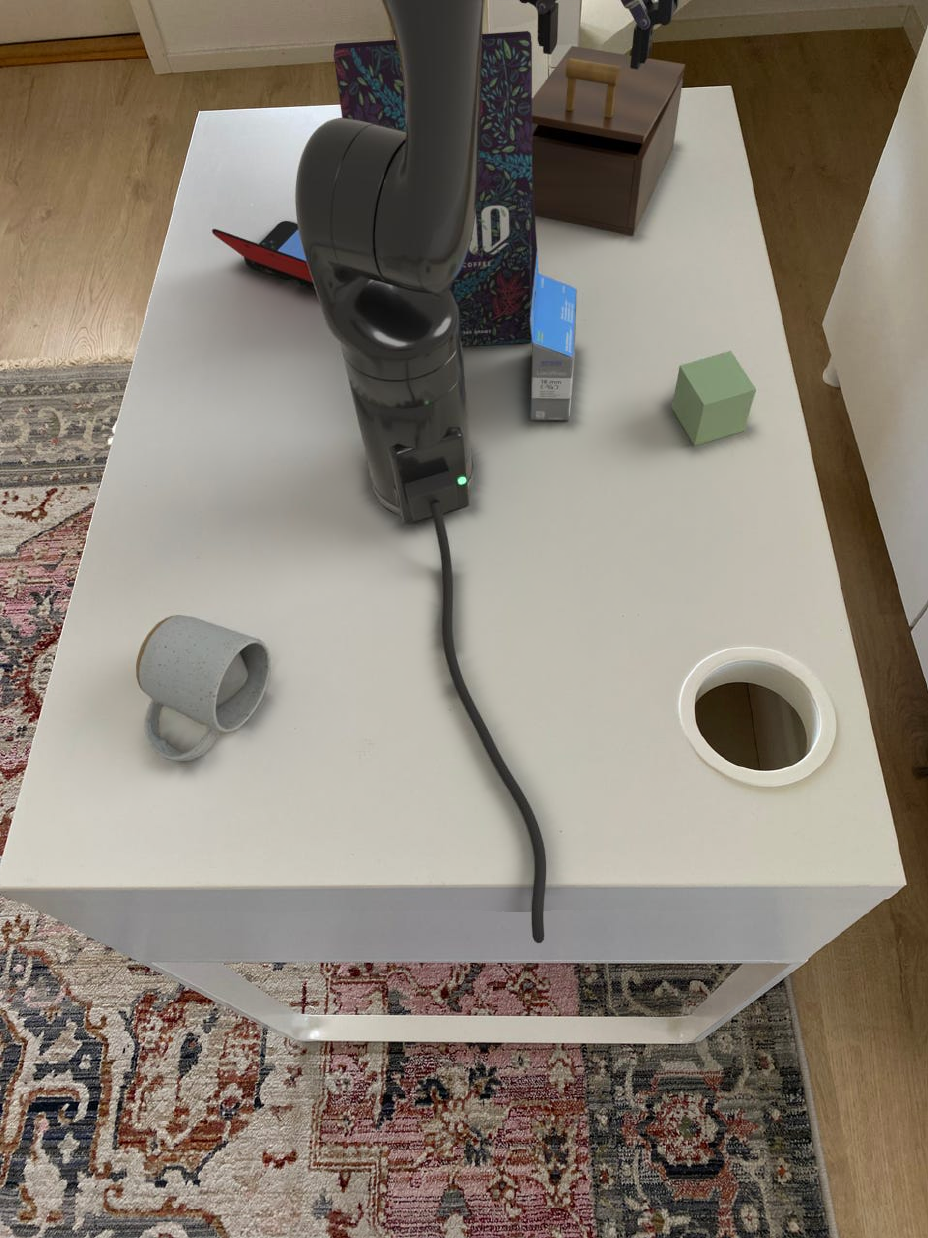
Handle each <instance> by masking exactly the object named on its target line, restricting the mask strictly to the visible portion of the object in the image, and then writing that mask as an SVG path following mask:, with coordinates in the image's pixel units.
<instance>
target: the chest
mask: <svg viewBox="0 0 928 1238" xmlns="http://www.w3.org/2000/svg"><path fill="white" fill-rule="evenodd" d="M684 75H685V72H684V73H683V74H682V76H681V78H680V80H679V81H678V83H677V85H676V87H675V88H674V90H673V92H672V94H671V95H670V97H669V99H668V100H667V102H666V104H665V106H664V107H663V109H662V111H661V113H660V114H659V116H658V118H657V120H656V121H655V123H654V125H653V127H652V128H651V130H650V132H649V134H648V135H647V137H646V139H645V141H644V142H643V143H636V142H631V141H625V140H620V139H615V138H609V137H604V136H598V135H593V134H587V133H582V132H577V131H571V130H566V129H560V128H555V127H549V126H544V125H539V124H533V123H532V180H533V195H534V210H535V217H540V218H541V217H542V218H546V219H551V220H555V221H560V222H564V223H569V224H574V225H580V226H583V227H588V228H594V229H599V230H604V231H607V232H613V233H617V234H622V235H628V236H632V237H634V236H635V234H636V232H637V230H638V227H639V226H640V223H641V220H642V218H643V216H644V214H645V213H646V209H647V208H648V206H649V203H650V201H651V198H652V196H653V194H654V191H655V190H656V188H657V185H658V183H659V180H660V178H661V176H662V175H663V172H664V170H665V167H666V165H667V163H668V160H669V159H670V156H671V154H672V152H673V150H674V145H675V138H676V137H675V136H676V130H677V125H678V124H677V123H678V118H679V117H678V116H679V111H680V110H679V109H680V105H681V104H680V102H681V96H682V90H683V83H684Z"/></svg>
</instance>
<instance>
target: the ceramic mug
mask: <svg viewBox="0 0 928 1238" xmlns="http://www.w3.org/2000/svg"><path fill="white" fill-rule="evenodd" d="M271 665H272V664H271V655H270V651H269V648H268V646H267V645H266V643H265V642H264V641H263V640H261V639H259V638H257V637H255V636H251V635H248V634H245V633H241V632H239V631H236V630H233V629H231V628H228V627H224V626H222V625H218V624H214V623H212V622H209V621H207V620H204V619H201V618H199V617H194V616H191V615H189V616H188V615H181V614H177V615H170V616H168V617H165V618H164V619H162V620H160V621H158V623H156V624H155V625H154V627H152V629H151V630H150V631H149V632H148V634H147V635H146V637H145V638H144V640H143V641H142V644H141V646H140V648H139V652H138V654H137V658H136V664H135V666H136V667H135V674H136V675H135V676H136V679H137V684H138V686H139V688H140V690H142V692H143V693H144V694H145V695H147V696H148V697H149V698H150V699H151V701H150V703H149V704H148V706H147V710H146V714H145V718H144V732H145V737H146V739H147V742H148V743H149V746H150V747H151V748H152V749H153V750H154V752H155V753H157V754H158V755H160V757H161V756H162V757H163V758H165V759H167V760H169V761H172V762H188V761H193V760H195V759H198V758H199V757H201V756H203V755H204V754H206V752H208V751H209V750H210V748H211V747H212V746H213V744H214V743H215V741H216V740H217V739H218V736H219V735H220V733H221V734H229V733H232V732H235V731H237V730H238V729H239V728H241V727H242V726H244V725H245V724H246V723H247V721H248V720H249V719H250V718H251V717H252V716H253V714H254V712H255V711H256V710H257V708H258V706H259V704H260V702H261V701H262V698H263V697H264V695H265V692H266V689H267V687H268V683H269V679H270V675H271V669H272V667H271ZM163 706H164V707H167V708H169V709H172V710H173V711H176V712H178V713H180V714H182V715H184V716H186V717H187V718H190V719H192V720H193V721H196V722H197V723H199V724H201V725H204V726H206V728H207V729H206V732H205V734H204V735H203V737H202V738H201V739H200V741H199V742H198V744H196V746H194V747H193V748H192V749H190V750H188V751H187V752H181V751H180V750H178V749H176V748H174V747H173V746H172V745H170V744H169V743H168V741H167V740H166V739H164V738H162V737H161V735H160V734H161V733H160V730H159V723H160V716H161V712H162V709H163Z"/></svg>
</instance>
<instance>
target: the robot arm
mask: <svg viewBox="0 0 928 1238" xmlns="http://www.w3.org/2000/svg"><path fill="white" fill-rule="evenodd" d="M485 1H486V0H381V2H382V4H383V7H384V10H385V12H386V15H387V18H388V21H389V24H390V27H391V30H392V34H393V37H394V40H396V44H397V48H398V52H399V57H400V62H401V69H402V76H403V86H404V98H405V115H406V131H404V130H400V129H396V128H392V127H388V126H383V125H379V124H375V123H370V122H366V121H362V120H357V119H352V118H342V117H336V118H333V119H329V120H327V121H325V122H324V123H322V124H321V125H320V126H319V127H318V128H317V129H316V130H315V131H313V133H312V134H311V135H310V137H309V138H308V141H307V142H306V144H305V146H304V148H303V150H302V153H301V156H300V159H299V162H298V166H297V172H296V178H295V191H294V199H295V200H294V201H295V202H294V203H295V216H296V224H298V230H299V235H300V239H301V244H302V247H303V251H304V254H305V258H306V261H307V264H308V267H309V271H310V274H311V277H312V280H313V283H314V286H315V289H316V291H315V293H316V296H317V298H318V303H319V305H320V309H321V313H322V315H323V319H324V321H325V324H326V326H327V328H328V330H329V331H330V332H331V334H332V335H333V337H334V338H335V339H336V340H337V341H338V342H339V345H340V348H341V351H342V356H343V360H344V365H345V369H346V373H347V378H348V383H349V387H350V391H351V396H352V401H353V405H354V409H355V413H356V419H357V423H358V426H359V431H360V435H361V439H362V444H363V448H364V453H365V458H366V462H367V465H368V469H369V477H370V483H371V487H372V491H373V493H374V496H375V497H376V499H377V500H378V502H379V503H380V504H381V505H382V506H384V508H386V509H387V510H389V511H390V512H392V513H394V514H396V515H399V516H400V517H401V519H402V522H403V523H404V524H405V525H409V524H412V523H415V522H419V521H422V520H425V519H429V518H432V519H433V524H434V528H435V533H436V538H437V542H438V547H439V554H440V561H441V562H440V563H441V574H442V617H441V618H442V619H441V628H442V629H441V631H442V643H443V650H444V654H445V659H446V663H447V667H448V671H449V673H450V677H451V679H452V682H453V685H454V687H455V690H456V692H457V695H458V697H459V699H460V701H461V703H462V705H463V707H464V708H465V711H466V713H467V714H468V716H469V718H470V721H471V722H472V724H473V726H474V728H475V730H476V732H477V734H478V737H479V738H480V741H481V743H482V744H483V747H484V749H485V751H486V753H487V755H488V757H489V759H490V761H491V763H492V764H493V766H494V768H495V769H496V771H497V773H498V775H499V776H500V778H501V780H502V781H503V783H504V785H505V786H506V788H507V789H508V792H509V793H510V795H511V797H512V798H513V799H514V801H515V803H516V806H517V807H518V808H519V811H520V814H521V815H522V817H523V820H524V822H525V825H526V828H527V831H528V833H529V838H530V841H531V846H532V850H533V857H534V858H533V859H534V873H533V874H534V876H533V885H532V886H533V887H532V899H531V916H530V917H531V934H532V935H531V936H532V938H533V941H534V942H535V943H536V944H542V943H543V942H544V940H545V923H544V908H545V894H546V885H547V884H546V883H547V857H546V849H545V844H544V840H543V836H542V833H541V829H540V826H539V824H538V821H537V818H536V816H535V813H534V811H533V809H532V806H531V805H530V803H529V801H528V799H527V797H526V795H525V794H524V792H523V790H522V789H521V787H520V786H519V784H518V782H517V781H516V779H515V778H514V775H513V774H512V773H511V770H510V769H509V767H508V766H507V764H506V762H505V761H504V759H503V757H502V755H501V753H500V752H499V749H498V747H497V745H496V743H495V741H494V739H493V737H492V735H491V733H490V731H489V729H488V727H487V725H486V723H485V721H484V719H483V718H482V716H481V713H480V712H479V710H478V708H477V706H476V704H475V702H474V700H473V698H472V696H471V694H470V692H469V690H468V687H467V685H466V682H465V680H464V677H463V674H462V672H461V667H460V666H459V662H458V658H457V653H456V648H455V643H454V635H453V604H454V603H453V602H454V588H453V587H454V584H453V583H454V580H453V579H454V578H453V567H452V566H453V565H452V556H451V549H450V544H449V539H448V532H447V528H446V524H445V520H444V516H443V514H445V513H448V512H451V511H455V510H458V509H462V508H464V507H467V506H469V505H470V494H469V493H470V491H471V488H472V487H473V483H474V478H475V477H474V475H475V472H474V471H475V470H474V463H473V457H472V448H471V440H470V438H471V437H470V427H469V425H470V424H469V415H468V404H467V403H468V401H467V388H466V377H465V365H464V363H465V362H464V350H463V349H464V348H463V346H462V336H461V322H460V313H459V307H458V304H457V301H456V298H455V296H454V294H453V293H452V291H451V289H450V288H449V286H451V285H452V284H453V282H454V281H455V280H456V278H457V277H458V275H459V273H460V271H461V269H462V267H463V265H464V263H465V260H466V257H467V254H468V251H469V247H470V243H471V239H472V234H473V229H474V222H475V216H476V205H477V193H478V173H479V140H480V94H481V56H482V34H484V32H483V31H484V29H483V28H484V13H485ZM518 1H519V2H520V3H521V4H523V5H524V4H527V3H529V4H530V5H532V6H533V7H534V8H535V9H536V12H537V44H538V46H539V47H542V53H543V54H545V55H552V54H553V52H554V51H555V49H556V47H557V45H558V38H559V37H558V35H559V2H556V1H557V0H518ZM679 1H680V0H658V1H657V2H656V1H655V0H620V2H621V4H622V6H623V7H624V9H628V11H629V13H630V14H631V16H632V18H633V20H634V22H635V26H634V27H633V35H632V44H631V54H630V55H631V65H630V68H632V69H639V67H640V65H641V63H643V64H644V63H645V61H646V59H647V58H649V55H650V53H651V51H652V47H653V38H654V29H655V26H656V25H661V26H667V25H669V24H670V23H671V21H672V19H673V16H674V14H675V12H676V11H677V10H678V8H679Z"/></svg>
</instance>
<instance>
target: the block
mask: <svg viewBox="0 0 928 1238" xmlns="http://www.w3.org/2000/svg"><path fill="white" fill-rule="evenodd" d="M756 392H757V388H756V386H755V385H754V384H753V382H752V380H751V379H750V377H749V376H748V375H747V373H746V371H745V370H744V368H743V367H742V366H741V364H740V362H739V361H738V359H737V357H735V355H734V353H733V352H732V350H728V351H724V352H721V353H718V354H715V355H711V356H708V357H705V358H700V359H698V360H695V361H691V362H687V363H685V364H681V365H679V368H678V373H677V378H676V382H675V388H674V393H673V399H672V404H671V410H672V411H673V412H674V415H675V416H676V418H677V419H678V421H679V423H680V424H681V426H682V428H683V430H684V431H685V433H686V435H687V436H688V439H689V440H690V442H691V443H692V445H693V446H694V447H696V446H699V445H703V444H706V443H708V442H709V443H710V442H713V441H716V440H719V439H722V438H725V437H729V436H732V435H735V434H738V433H741V432H744V431H745V429H746V426H747V421H748V419H749V416H750V413H751V408H752V406H753V401H754V399H755V396H756Z"/></svg>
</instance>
